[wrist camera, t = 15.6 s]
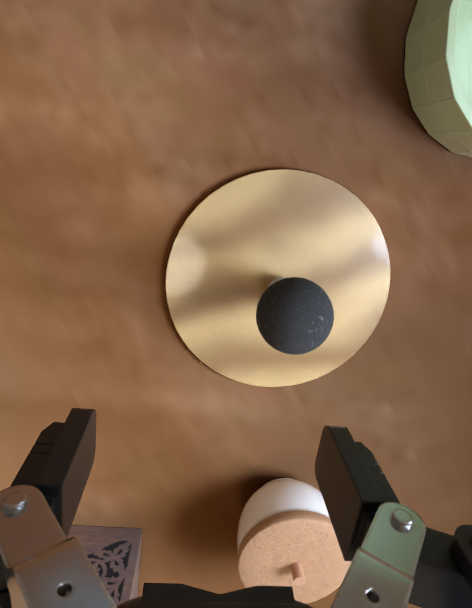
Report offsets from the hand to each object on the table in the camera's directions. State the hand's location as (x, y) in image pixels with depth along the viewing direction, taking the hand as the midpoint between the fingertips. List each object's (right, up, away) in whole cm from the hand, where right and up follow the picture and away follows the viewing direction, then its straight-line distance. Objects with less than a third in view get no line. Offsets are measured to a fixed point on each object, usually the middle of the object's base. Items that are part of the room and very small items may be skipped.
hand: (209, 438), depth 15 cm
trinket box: (+6, -17, +32) cm, 36 cm away
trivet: (+5, +6, +23) cm, 25 cm away
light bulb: (+5, +6, +23) cm, 24 cm away
